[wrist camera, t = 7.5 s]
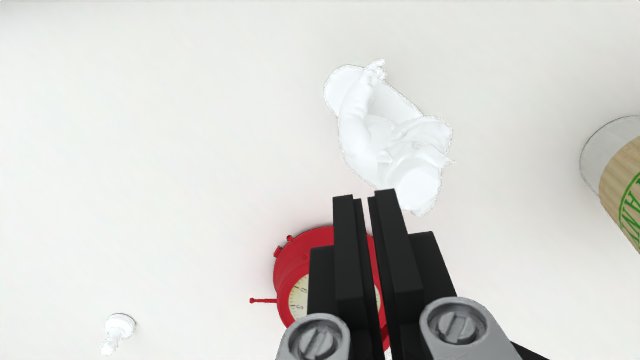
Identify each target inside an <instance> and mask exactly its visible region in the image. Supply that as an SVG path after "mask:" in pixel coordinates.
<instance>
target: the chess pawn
mask: <svg viewBox="0 0 640 360" xmlns="http://www.w3.org/2000/svg"><path fill="white" fill-rule="evenodd" d="M105 330H106V332H107V333H108V339H106V340H104V342H103V344H102V345H101V348H100V350H101V353H102V354H103V355H106V356H110V355H112V354H113V353H114V352H115V351H116V348H117V347H118V343H117V342H118V341H119V340H122V339H127V338H129V337H130V336H131V335H132V333H133V332H134V330H135V322H134V321H133V320H132V319H131V318H130V317H129V316H127V315H124V314H114V315H112V316H110V317H109V319H108V320H107V322H106V324H105Z"/></svg>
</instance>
